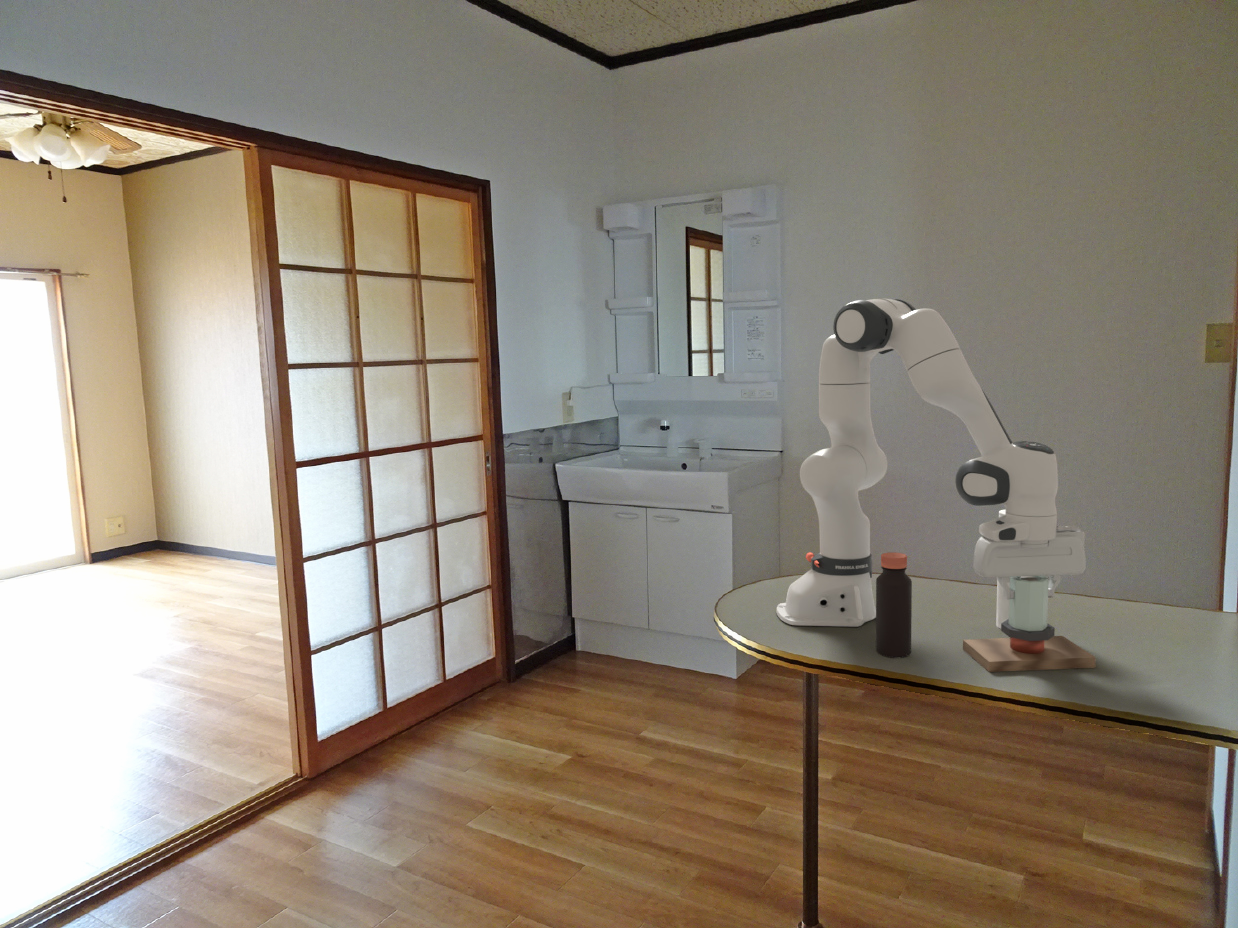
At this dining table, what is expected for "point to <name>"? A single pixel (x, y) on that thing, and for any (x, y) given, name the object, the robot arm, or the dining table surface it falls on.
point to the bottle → (893, 607)
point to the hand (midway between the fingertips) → (1028, 597)
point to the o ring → (1027, 632)
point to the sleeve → (1029, 604)
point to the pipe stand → (1028, 652)
